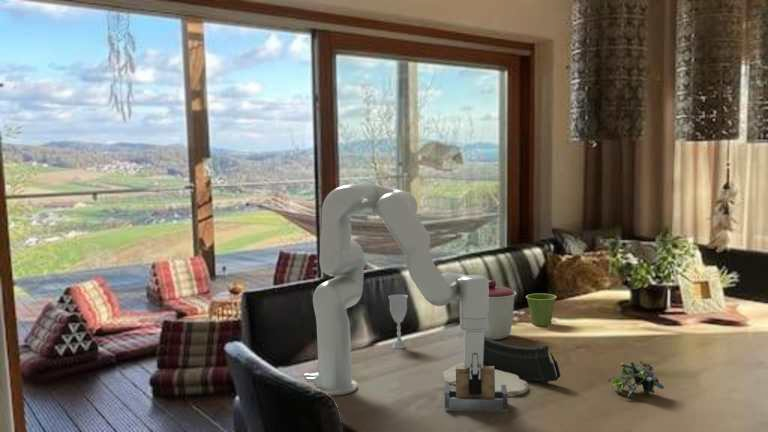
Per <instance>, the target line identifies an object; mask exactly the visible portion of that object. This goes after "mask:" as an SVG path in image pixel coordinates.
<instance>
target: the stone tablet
mask: <svg viewBox="0 0 768 432" xmlns="http://www.w3.org/2000/svg"><path fill="white" fill-rule="evenodd" d="M456 366H464V361H462V362H460V363H458V364H455V365H453V366H452V367H450V368H449V369H446V370H445V371H442V376H443V380H444V382H445V383H446V384H450V385H451V386H455V387H456ZM483 366H484V365H483ZM501 385H506V389H507V397H510V398H511V397H517V396H520V395H522V394H525V393H526V392H528V391H529V385H528V382H527V380H524V379H519V376H517V375H515V374H512V373H507V372H503V371H499V370H495V391H501Z"/></svg>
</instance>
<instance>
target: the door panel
mask: <svg viewBox="0 0 768 432" xmlns="http://www.w3.org/2000/svg"><path fill="white" fill-rule="evenodd" d="M471 367H473V366H471ZM477 367H479V366H477ZM469 368H470V366H469ZM469 368H467V369H465V368H464V366H456V386H455V390H456V397H459V398H495V369H494V366H483V368H482V369H481V368H480V379H481V395H473V394H469V379H470V369H469ZM472 371H473V370H472Z"/></svg>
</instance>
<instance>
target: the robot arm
mask: <svg viewBox="0 0 768 432" xmlns="http://www.w3.org/2000/svg"><path fill="white" fill-rule="evenodd" d="M417 212H418V202H417V199H416V198H415V197H414V195H413V194H411V193H410V192H408V191H406V190H402V189H396V188H393V187H392V188H391V187H387V186H383V185H380V184H375V183H350V184H345V185H342V186H341V185H340V186H339V187H336V188H335V189H333V190H332V191H330V192H329V193H328V194H327V195H326V196H325V199H324V201H323V203H322V209H321V231H320V245H319V246H320V248H319V268H320V269H321V271H322V272H323V273H324V274H325V275H327V276H330V277H333V278H331V279H328V280H326V281H324V282H323V281H322V283H320V284H319V285H317V287H316V288H315V289H314V292H313V295H312V305H313V309H314V314H315V319H316V320H315V321H316V337H317V339H316V340H317V343H316V344H317V367H318V368H317V369H318V372H315V373H304V376H303V379H304V381H306V383H314V384H313V388H314V387H315V388H317V389H320V390H322V391H324V392H326V393H328V394H329V395H328V396H340V395H341V396H342V395H347V394H350V393H353V392H355V391H356V390H357V388H358V383H357V381H355V380H354V379H352V373H353V372H352V348H351V346H352V344H351V343H352V342H351V339H352V338H351V324H350V319H349V317H348V313H347V309H348V308H351V307H353V306H355V305H357V304H358V302H359V301H360V299H361V298H362V294H363V291H364V289H363V288H364V274H365V253H364V251H363V248H362V246H361V245H360V244H359V243H358V242H357V241H356V240H353V239H352V222H351V220H350V217H351V216H353V215H362V214H366V213H367V214H368V213H369V214H374V215H377V216H378V217H379V218H380V220H381V221H382V222H383V224H384V226H385V227H386V228H387V230H388V232H389V233H390V235H391V236H392V237H393V239H394V240H395V242H396V245H398V247H399V248H400V250H401V251H402V253H403V257H404V260H405V262H404V263H405V264H406V267H407V270H408V274H409V275H410V278H411V279H412V282H413V283H414V284H415V286H416V288H417V289H418V290H419V292H420V294H421V295H422V296H423V298H424V299H425V300H426V301H427V302H428V303H429V304H431V305H432V306H435V307H442V306H443V307H444V306H447V305H448V304H450V303H451V302H453V301H456V300H459V329H460V330H462V331H463V362H464V368H465V369H467V368H469V366H470V368H469V369H470V379H469V394H473V395H481V379H480V368H481V369H482V368H483V361H484V331H486V330H488V329H489V283H488V281H489V280H488V278H487V277H486V276H484V275H481V274H469V275H468V274H463V273H457V272H452V271H451V272H450V271H448V272H447V271H446V272H443V273H441V271H439V269H438V267H437V266H436V264H435V263H434V261H433V258H432V255H431V251H430V248H431V247H430V245H431V235H430V234H429V232H428V230H427V229H426V227H425V226H424V225H423V223H422V222H421V220H420V218H419V217H418V216H417V215H416V214H417ZM471 366H473V367H471ZM477 366H479V367H477ZM472 370H473V371H472Z"/></svg>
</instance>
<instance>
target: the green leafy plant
mask: <svg viewBox="0 0 768 432" xmlns="http://www.w3.org/2000/svg"><path fill="white" fill-rule="evenodd" d="M639 363H640V364H638V363H637V362H635V361H634V360H632V361H631V362H630V363H628V365H627V364H626V363H623V362H621V363H620V366H621V367H622V368H621V369H622V372H621V374H620V375H619V376H617V377H616V378H615V377H614V375H610V377H609V378H608V379H607V381H608V382H609V383H610V382H611V384H610V385H611V387H612V388H614V387H616V389H617V390H620V393H623V390H624V388H625V387H626V386H627V387H628V389H627V390H628V391H627V392H628V395H627V397H626V399H629V397H630V396H631V394H633V393H634V391H636V389H637V387H639V386H641V387H642V389H643V392H645V394H650V393H652V394H655V393H656V392H655V390H654V387H655V386H656V387H657V388H658V389H661V390H663V389H664V388H665V385H663V384H661V383H660V382H659V378H658V376H654V375H655V374H656V373H655V372H653V371H655V370H654V367H653V366H652V365H651V364H650V363H648V362H646V361H642V360H640V361H639ZM612 379H613V380H612ZM632 379H633V380H634V383H632V382H631V381H632ZM611 380H612V381H611Z"/></svg>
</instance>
